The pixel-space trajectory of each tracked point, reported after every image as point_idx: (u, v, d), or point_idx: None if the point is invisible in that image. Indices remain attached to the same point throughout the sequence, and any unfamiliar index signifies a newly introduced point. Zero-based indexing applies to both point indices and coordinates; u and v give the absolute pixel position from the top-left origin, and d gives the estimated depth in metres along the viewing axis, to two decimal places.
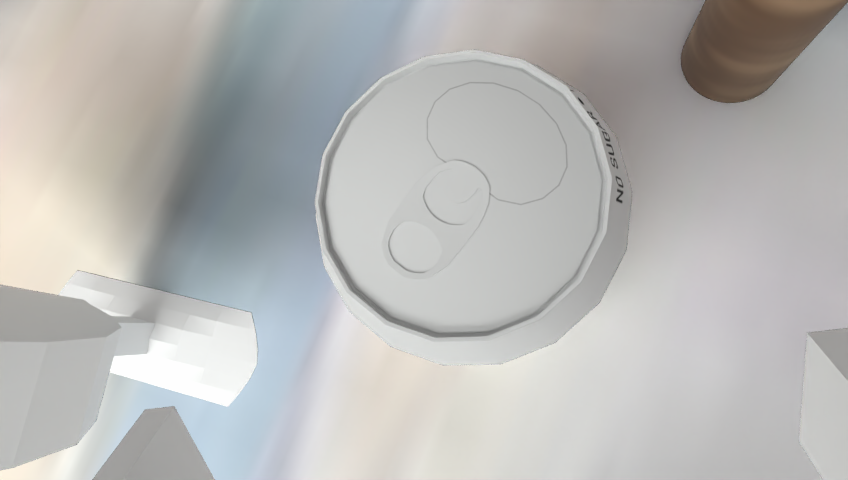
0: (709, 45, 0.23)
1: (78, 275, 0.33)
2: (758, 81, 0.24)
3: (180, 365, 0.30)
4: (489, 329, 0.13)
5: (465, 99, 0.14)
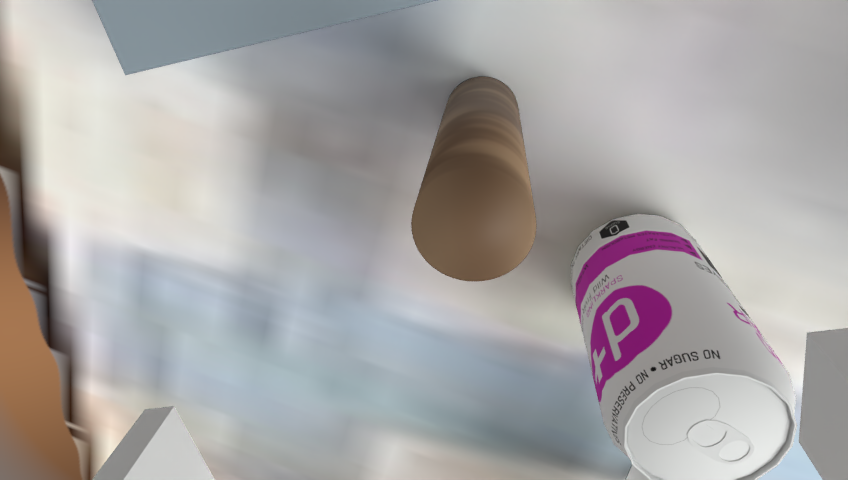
0: None
1: None
2: None
3: None
4: (788, 421, 0.24)
5: (651, 428, 0.25)
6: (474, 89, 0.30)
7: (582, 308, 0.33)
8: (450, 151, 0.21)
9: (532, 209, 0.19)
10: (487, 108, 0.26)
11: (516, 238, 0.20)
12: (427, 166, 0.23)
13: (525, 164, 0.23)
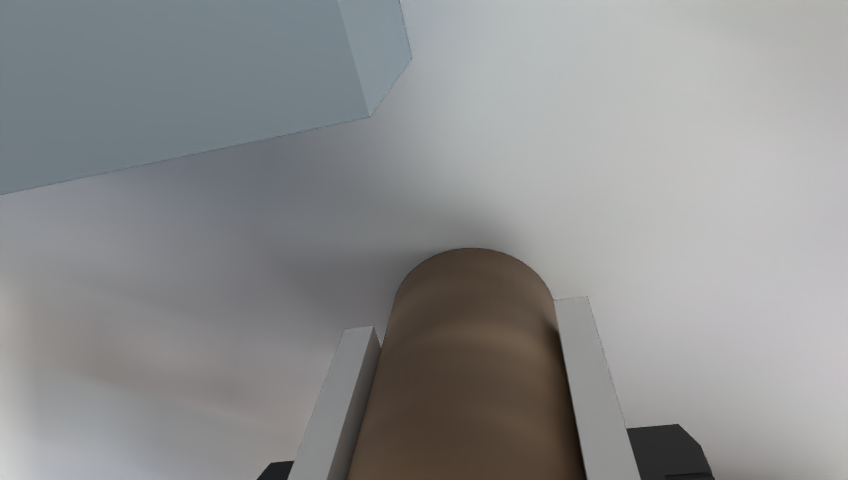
0: None
1: None
2: None
3: None
4: None
5: None
6: (452, 328, 0.11)
7: None
8: None
9: None
10: None
11: None
12: None
13: None
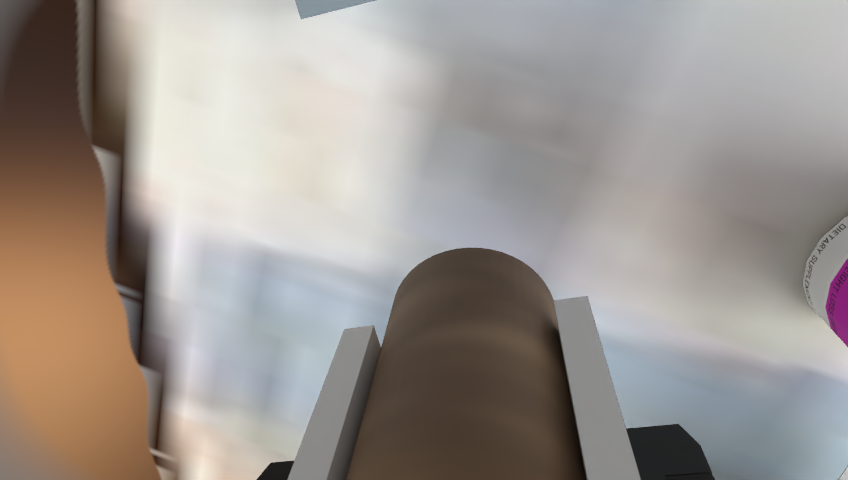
0: None
1: None
2: None
3: None
4: None
5: None
6: (451, 327, 0.11)
7: None
8: None
9: None
10: None
11: None
12: None
13: None
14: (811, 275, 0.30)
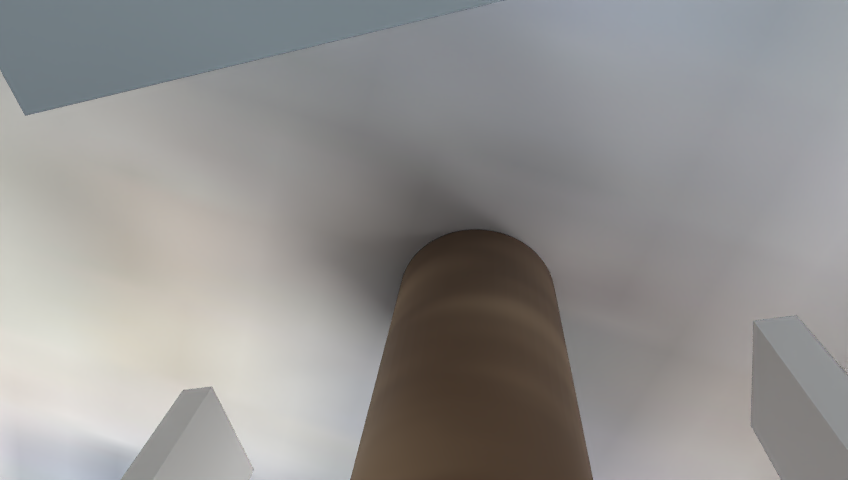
0: None
1: None
2: None
3: None
4: None
5: None
6: (458, 299, 0.12)
7: None
8: None
9: None
10: (494, 452, 0.08)
11: None
12: None
13: None
14: None
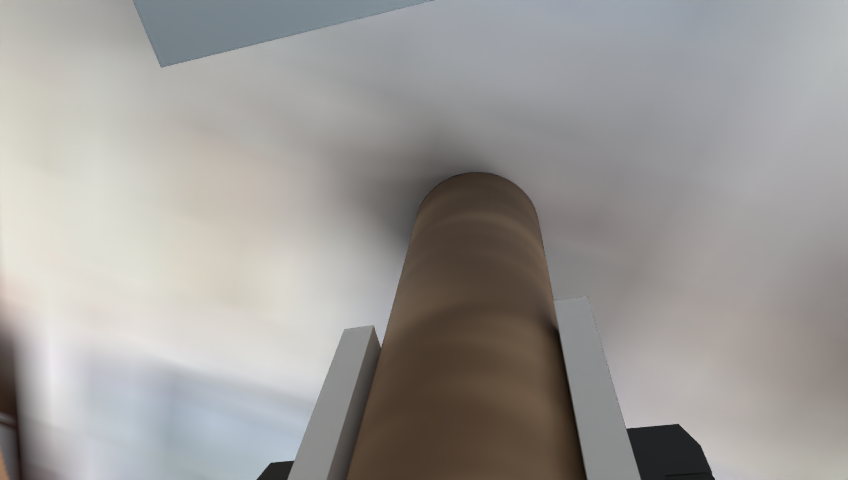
0: None
1: None
2: None
3: None
4: None
5: None
6: (462, 214, 0.16)
7: None
8: None
9: None
10: (488, 292, 0.12)
11: None
12: None
13: None
14: None
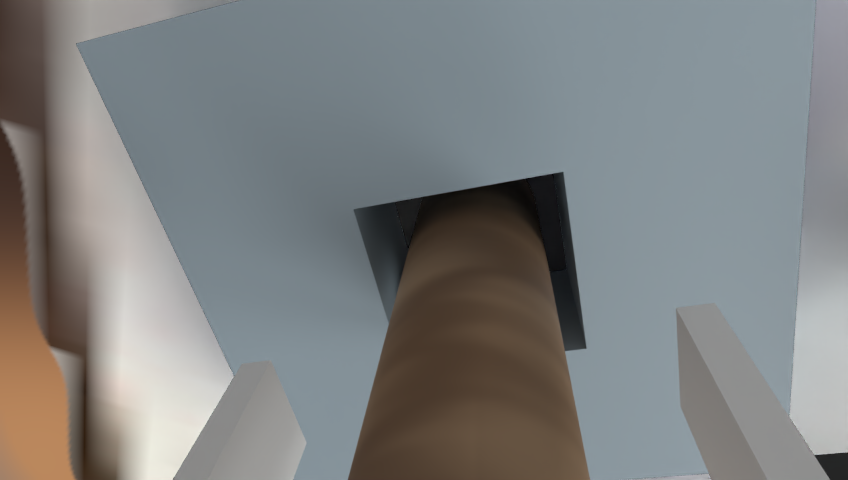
0: None
1: None
2: None
3: None
4: None
5: None
6: (465, 194, 0.17)
7: None
8: (404, 452, 0.09)
9: None
10: (489, 259, 0.14)
11: None
12: (361, 432, 0.11)
13: (578, 436, 0.10)
14: None
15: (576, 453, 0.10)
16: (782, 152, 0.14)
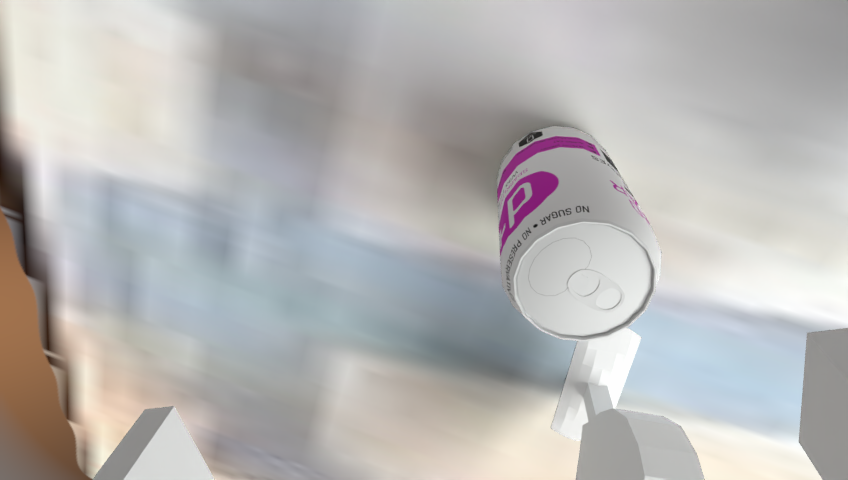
0: None
1: (554, 427, 0.52)
2: None
3: (615, 366, 0.48)
4: (650, 267, 0.27)
5: (536, 280, 0.28)
6: None
7: (498, 205, 0.36)
8: None
9: None
10: None
11: None
12: None
13: None
14: None
15: None
16: None
